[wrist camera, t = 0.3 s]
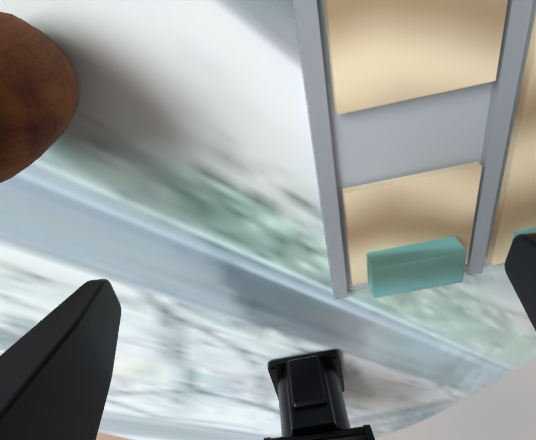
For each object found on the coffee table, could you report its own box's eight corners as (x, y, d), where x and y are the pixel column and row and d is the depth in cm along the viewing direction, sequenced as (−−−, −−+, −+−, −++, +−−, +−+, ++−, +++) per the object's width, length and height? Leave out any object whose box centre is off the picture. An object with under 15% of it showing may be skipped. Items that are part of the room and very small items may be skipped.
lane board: (612, 240, 28) (636, 257, 26) (332, 291, 29) (338, 311, 27) (851, -297, 13) (937, -332, 12) (272, -144, 15) (276, -157, 13)
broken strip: (462, 258, 27) (478, 279, 25) (350, 279, 28) (358, 301, 26) (521, -141, 15) (559, -154, 13) (315, -89, 15) (325, -95, 13)
